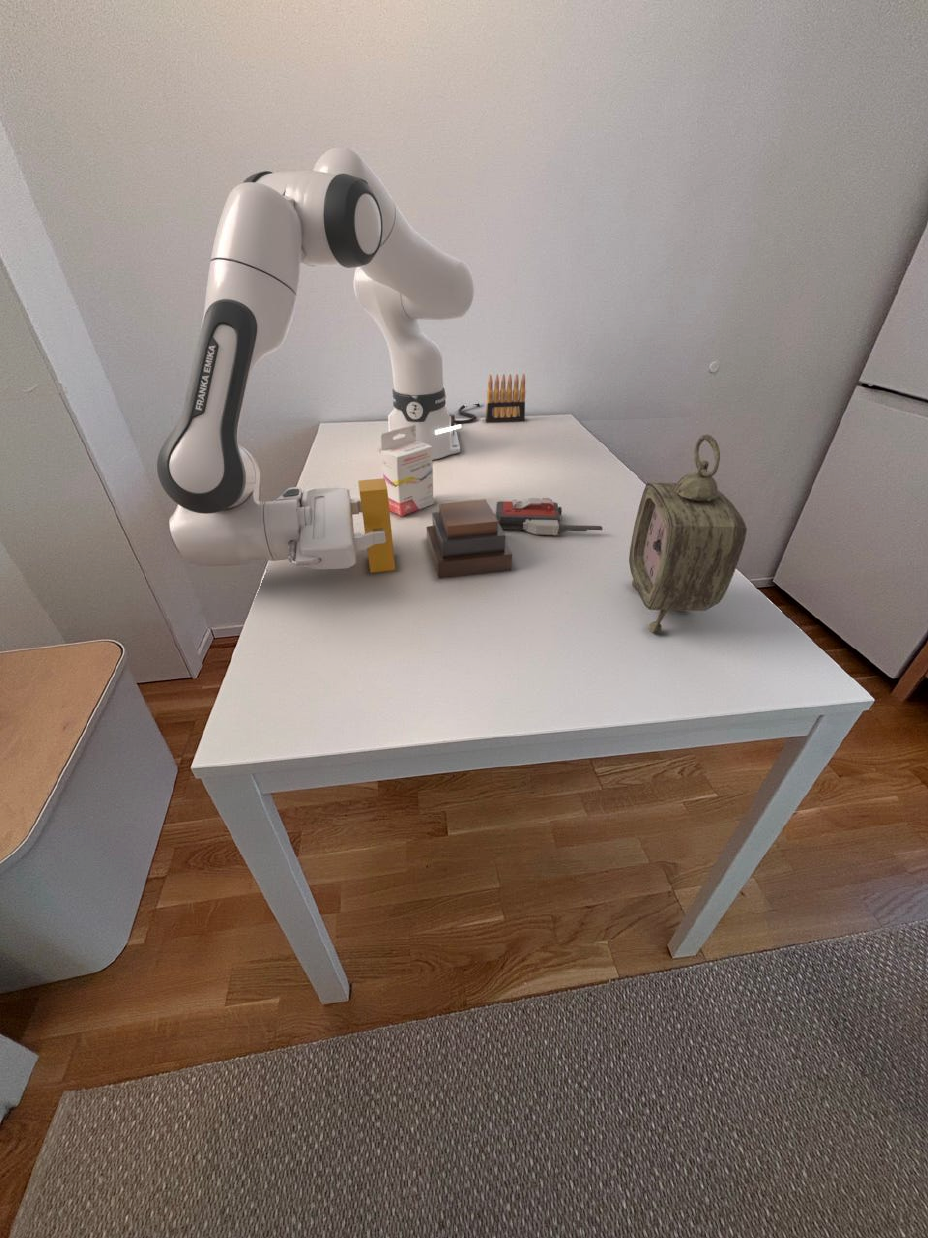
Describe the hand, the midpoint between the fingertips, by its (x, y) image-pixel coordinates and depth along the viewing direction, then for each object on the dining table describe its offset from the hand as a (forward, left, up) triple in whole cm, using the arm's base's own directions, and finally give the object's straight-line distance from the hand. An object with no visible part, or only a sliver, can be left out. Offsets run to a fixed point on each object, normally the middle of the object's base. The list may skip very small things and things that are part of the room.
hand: (382, 520), depth 80 cm
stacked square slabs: (-4, +13, -8) cm, 16 cm away
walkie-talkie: (-16, +26, -8) cm, 31 cm away
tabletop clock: (+8, +43, -8) cm, 44 cm away
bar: (0, -1, -8) cm, 8 cm away
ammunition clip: (-76, +16, -8) cm, 78 cm away
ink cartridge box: (-21, 0, -8) cm, 23 cm away
